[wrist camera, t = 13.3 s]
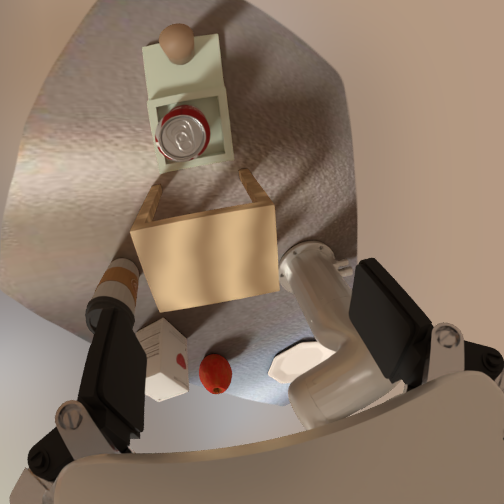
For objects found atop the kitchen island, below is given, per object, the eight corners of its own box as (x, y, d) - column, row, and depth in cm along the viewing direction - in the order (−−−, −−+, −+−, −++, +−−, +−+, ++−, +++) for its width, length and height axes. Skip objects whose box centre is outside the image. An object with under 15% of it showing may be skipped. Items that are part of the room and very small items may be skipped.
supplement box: (188, 338, 61) (191, 392, 48) (160, 351, 62) (158, 403, 49) (163, 316, 56) (160, 372, 44) (135, 331, 57) (127, 384, 44)
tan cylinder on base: (217, 35, 31) (224, 13, 22) (232, 158, 42) (242, 175, 33) (143, 48, 30) (126, 32, 20) (162, 170, 41) (152, 192, 32)
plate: (287, 385, 81) (289, 389, 80) (255, 363, 71) (256, 367, 70) (340, 356, 78) (342, 359, 77) (318, 327, 68) (320, 331, 67)
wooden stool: (247, 168, 44) (274, 204, 29) (254, 232, 50) (279, 290, 36) (151, 186, 42) (129, 231, 28) (168, 248, 48) (159, 312, 34)
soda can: (194, 96, 36) (195, 99, 26) (213, 133, 40) (221, 149, 30) (155, 117, 36) (142, 128, 27) (175, 152, 40) (170, 175, 30)
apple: (213, 371, 69) (218, 404, 60) (191, 360, 65) (193, 394, 56) (235, 357, 68) (242, 391, 59) (213, 345, 64) (217, 381, 54)
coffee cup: (147, 287, 52) (137, 344, 39) (109, 288, 50) (91, 343, 37) (141, 251, 47) (126, 305, 35) (100, 252, 46) (76, 305, 33)
